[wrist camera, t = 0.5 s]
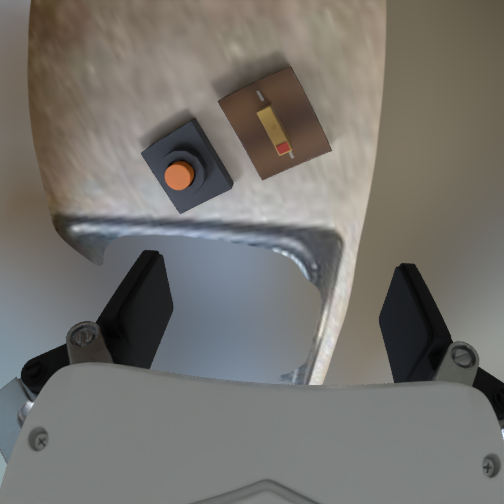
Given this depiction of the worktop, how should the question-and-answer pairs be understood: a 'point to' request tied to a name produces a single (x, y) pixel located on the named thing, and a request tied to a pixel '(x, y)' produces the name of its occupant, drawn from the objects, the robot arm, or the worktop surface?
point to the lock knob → (275, 129)
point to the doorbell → (198, 156)
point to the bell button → (179, 175)
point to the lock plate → (290, 113)
